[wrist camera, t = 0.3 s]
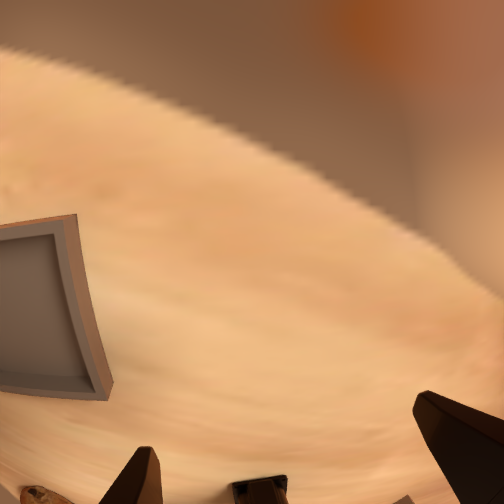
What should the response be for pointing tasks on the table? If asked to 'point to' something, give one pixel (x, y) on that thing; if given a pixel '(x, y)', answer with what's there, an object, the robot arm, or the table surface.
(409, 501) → the dice cube
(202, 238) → the table surface
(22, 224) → the tray
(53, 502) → the bread roll
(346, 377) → the table surface
